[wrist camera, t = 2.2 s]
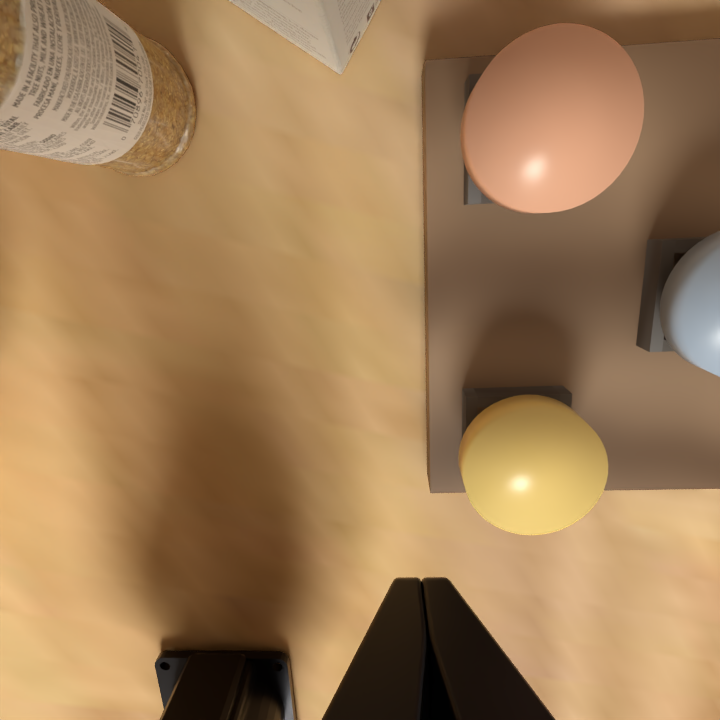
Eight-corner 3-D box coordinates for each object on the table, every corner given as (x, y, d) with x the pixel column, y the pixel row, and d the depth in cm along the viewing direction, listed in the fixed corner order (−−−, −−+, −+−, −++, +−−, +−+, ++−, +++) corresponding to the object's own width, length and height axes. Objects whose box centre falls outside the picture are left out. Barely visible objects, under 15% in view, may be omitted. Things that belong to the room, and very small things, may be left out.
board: (725, 468, 19) (770, 501, 17) (427, 473, 20) (432, 506, 18) (798, 47, 15) (870, 16, 13) (421, 74, 16) (427, 50, 14)
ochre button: (575, 497, 17) (601, 534, 15) (454, 498, 18) (463, 535, 16) (585, 382, 16) (614, 406, 14) (454, 386, 17) (464, 410, 14)
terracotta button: (599, 210, 15) (634, 207, 13) (455, 218, 15) (466, 217, 13) (612, 48, 14) (653, 15, 11) (455, 60, 14) (467, 30, 12)
